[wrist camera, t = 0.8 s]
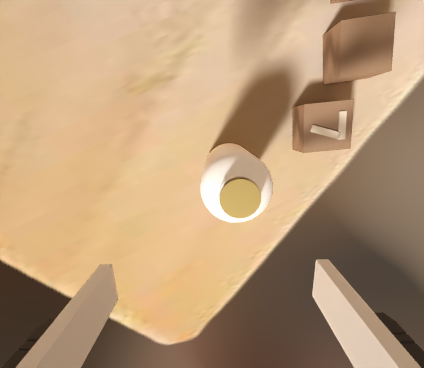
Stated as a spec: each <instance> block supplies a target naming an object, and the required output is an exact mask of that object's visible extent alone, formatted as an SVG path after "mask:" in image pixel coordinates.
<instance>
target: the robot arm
mask: <svg viewBox="0 0 424 368" xmlns="http://www.w3.org/2000/svg"><path fill="white" fill-rule="evenodd" d="M312 296H313V298H314V299H315V301H316V303H317V305H318V306H319V308H320V310H321V311H322V313H323V315H324V317H325V318H326V320H327V322H328V323H329V325H330V327H331V329H332V330H333V332H334V334H335V336H336V337H337V339H338V341H339V342H340V344H341V346H342V348H343V349H344V351H345V353H346V354H347V356H348V358H349V359H350V361H351V363H352V365H353V367H354V368H424V351H423V350H422V349H421V348H420V347H419V346H418V345H417V344H415V342H414V341H413V339H412V338H411V337H410V336H409V335H407V334H406V332H405V331H404V330H403V329H402V328H401V327H400V326H399V324H397V322H396V321H394V320H393V319H391V318H390V317H389V316H387V315H386V314H384V313H374V312H373V311H372V310H371V309H370V308H369V306H368V305H367V304H366V303H365V302H364V301H363V299H362V298H361V297H360V296H359V295H358V294H357V292H356V291H355V290H354V289H353V288H352V287H351V285H350V284H349V283H348V282H347V281H346V280H345V278H344V277H343V276H342V275H341V274H340V273H339V271H338V270H337V269H336V268H335V267H334V266H333V264H332V263H331V262H330V261H329V260H327V259H326V260H316V265H315V275H314V285H313V294H312ZM117 301H118V295H117V290H116V284H115V278H114V272H113V267H112V264H103V265H100V266H99V267H98V268H97V269H96V270H95V272H94V273H93V274H92V275H91V277H90V278H89V279H88V280H87V281H86V283H85V284H84V285H83V286H82V288H81V289H80V290H79V291H78V292H77V294H76V295H75V296H74V297H73V298H72V300H71V301H70V302H69V303H68V305H67V306H66V307H65V308H64V309H63V311H62V312H61V313H60V314H59V315H58V317H57V318H56V319H49V320H47V321H46V322H45V323H43V324H42V325H40V326H39V327H38V328H37V329H36V330H35V331H34V332H33V333H32V334H31V335H30V336H29V337H28V339H27V341H26V342H24V343H23V345H21V347H20V348H19V350H18V351H16V352H15V354H14V355H13V356H12V357H11V358H10V359H9V360H8V361H7V363H6V364H5V365H4V366H3V367H2V368H81V366H82V364H83V362H84V360H85V358H86V357H87V355H88V353H89V351H90V350H91V348H92V346H93V344H94V342H95V340H96V339H97V337H98V335H99V333H100V331H101V330H102V328H103V326H104V324H105V322H106V321H107V319H108V317H109V315H110V313H111V312H112V310H113V308H114V306H115V304H116V303H117Z"/></svg>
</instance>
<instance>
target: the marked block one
mask: <svg viewBox="0 0 424 368" xmlns="http://www.w3.org/2000/svg"><path fill="white" fill-rule="evenodd" d="M345 1H352V0H331V1H330V4H332V3H339V2H345Z"/></svg>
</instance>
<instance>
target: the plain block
mask: <svg viewBox="0 0 424 368" xmlns="http://www.w3.org/2000/svg"><path fill="white" fill-rule="evenodd" d="M395 15H396V12H392V13H385V14H379V15H373V16H366V17H360V18H353V19H347V20H341V21H340V22H339V23H337V24H336V25H335V26H334V27H333V28H331V29H330V30H329V31H328V32H327V33H325V34H324V35H323V85H324V84H331V83H338V82H345V81H352V80H359V79H366V78H370V77H373V76H376V75H379V74H382V73H385V72H389V71H392V57H393V43H394V29H395Z"/></svg>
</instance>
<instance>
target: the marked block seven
mask: <svg viewBox="0 0 424 368" xmlns="http://www.w3.org/2000/svg"><path fill="white" fill-rule="evenodd" d="M353 104H354V99H352V100H342V101H332V102H323V103H313V104H304V105H300V106H296V107H293V150H296V151H299V152H302V153H308V152H318V151H329V150H339V149H350V148H351V134H352V119H353Z"/></svg>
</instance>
